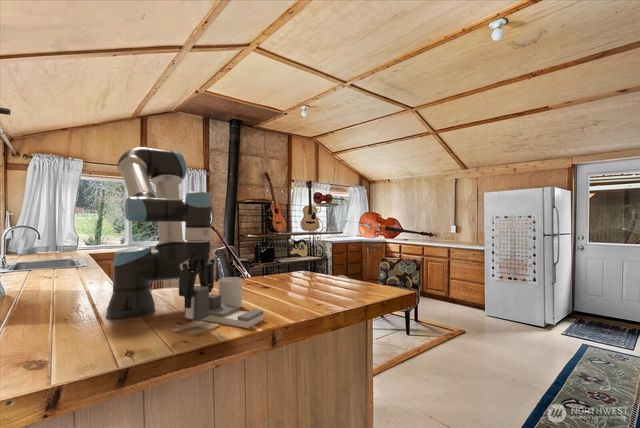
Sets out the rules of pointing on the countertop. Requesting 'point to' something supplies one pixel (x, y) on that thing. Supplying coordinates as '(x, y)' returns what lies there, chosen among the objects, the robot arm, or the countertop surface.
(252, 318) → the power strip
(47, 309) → the countertop surface
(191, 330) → the coaster
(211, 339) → the countertop surface
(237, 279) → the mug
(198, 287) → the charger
